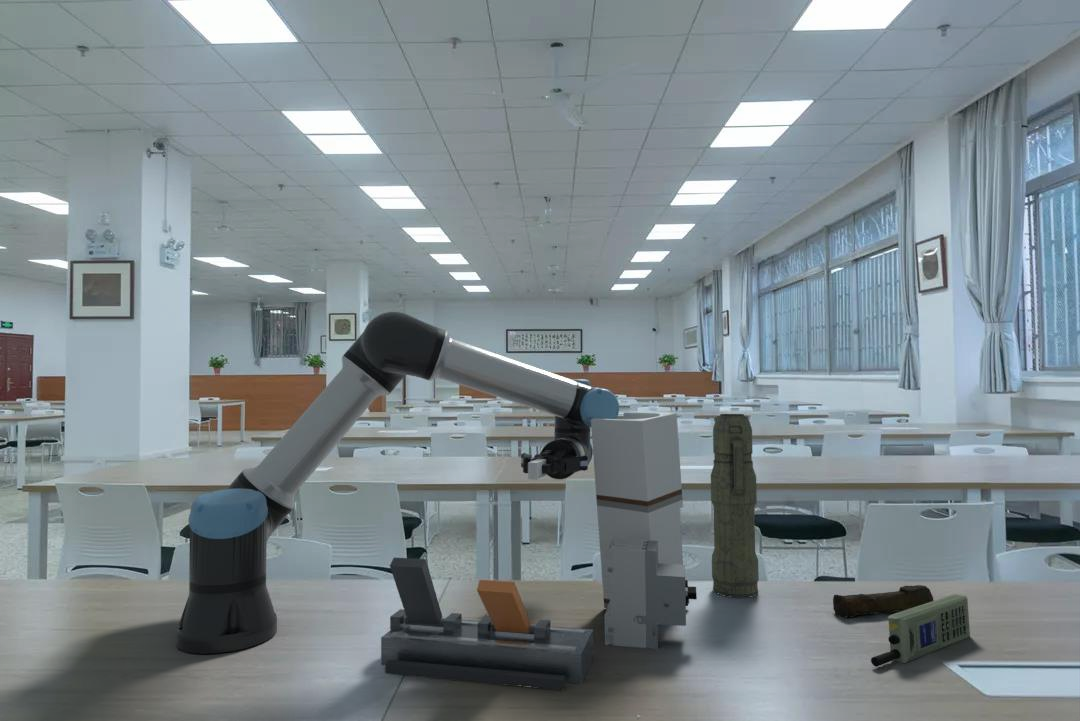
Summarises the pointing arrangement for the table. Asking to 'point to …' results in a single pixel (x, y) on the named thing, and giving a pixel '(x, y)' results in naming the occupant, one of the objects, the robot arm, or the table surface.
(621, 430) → the white banded pillar
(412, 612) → the lever on
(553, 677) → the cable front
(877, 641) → the table surface
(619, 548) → the circuit breaker
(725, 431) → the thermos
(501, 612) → the lever
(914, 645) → the handheld radio
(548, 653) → the grey slotted holder
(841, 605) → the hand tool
